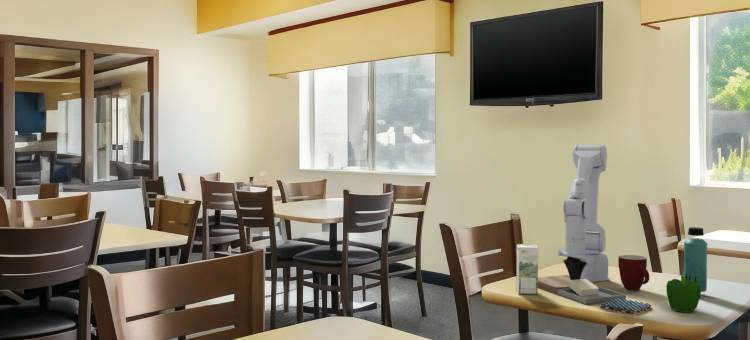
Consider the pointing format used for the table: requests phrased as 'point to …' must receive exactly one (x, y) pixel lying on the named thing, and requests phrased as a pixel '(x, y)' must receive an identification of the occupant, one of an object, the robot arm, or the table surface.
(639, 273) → the mug
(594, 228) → the robot arm
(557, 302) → the table surface
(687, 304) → the bell pepper
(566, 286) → the brown square board
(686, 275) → the beverage bottle
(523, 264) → the syrup box
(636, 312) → the woven mat
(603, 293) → the tray
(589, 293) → the tile
